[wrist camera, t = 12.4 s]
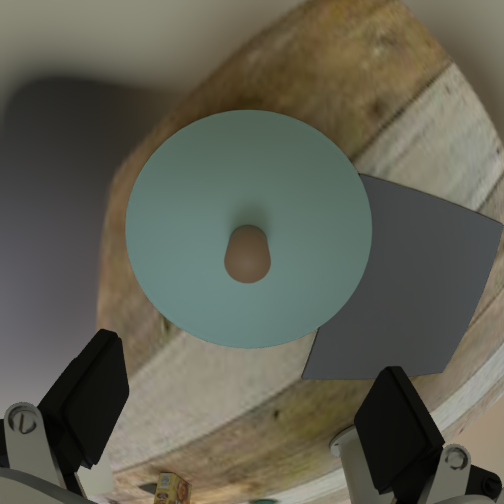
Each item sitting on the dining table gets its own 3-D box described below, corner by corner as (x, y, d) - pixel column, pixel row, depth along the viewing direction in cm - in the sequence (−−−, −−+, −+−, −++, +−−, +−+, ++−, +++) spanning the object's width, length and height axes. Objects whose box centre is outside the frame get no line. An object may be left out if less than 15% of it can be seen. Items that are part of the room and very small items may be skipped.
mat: (501, 224, 25) (503, 225, 25) (441, 371, 33) (442, 372, 33) (358, 173, 24) (359, 174, 24) (301, 376, 32) (301, 378, 32)
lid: (387, 142, 21) (419, 140, 16) (333, 349, 28) (346, 383, 23) (141, 104, 20) (114, 91, 15) (132, 324, 27) (113, 354, 22)
